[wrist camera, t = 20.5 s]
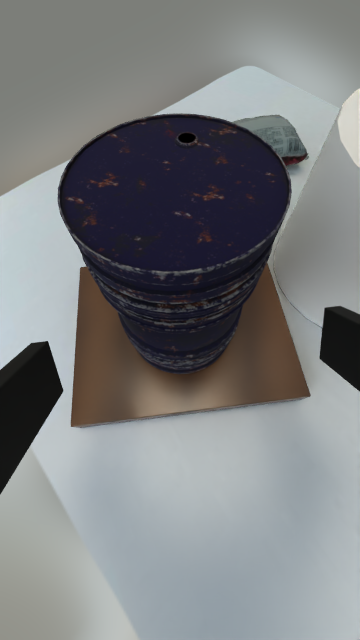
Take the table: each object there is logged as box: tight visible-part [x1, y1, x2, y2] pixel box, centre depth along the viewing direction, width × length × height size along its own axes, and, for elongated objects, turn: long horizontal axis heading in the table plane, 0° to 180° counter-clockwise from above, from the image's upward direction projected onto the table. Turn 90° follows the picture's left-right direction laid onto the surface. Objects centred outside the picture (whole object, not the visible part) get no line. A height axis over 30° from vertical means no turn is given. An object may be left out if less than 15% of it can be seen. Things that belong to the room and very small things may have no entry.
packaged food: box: [232, 115, 309, 166], centre depth 35 cm, size 9×12×5 cm
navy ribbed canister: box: [58, 114, 292, 374], centre depth 17 cm, size 10×10×15 cm
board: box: [71, 263, 310, 428], centre depth 25 cm, size 20×16×2 cm
